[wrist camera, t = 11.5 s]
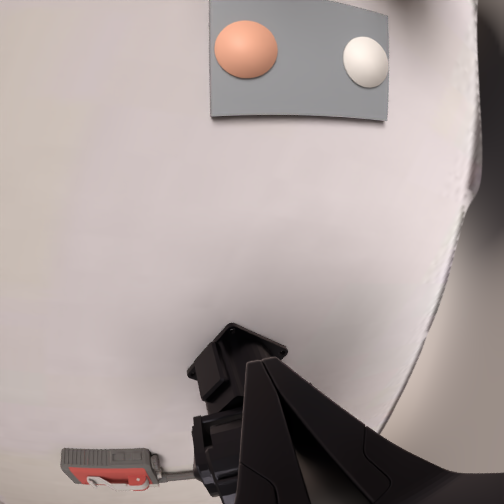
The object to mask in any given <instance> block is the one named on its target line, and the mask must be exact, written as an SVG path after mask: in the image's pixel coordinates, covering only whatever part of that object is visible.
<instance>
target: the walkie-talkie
mask: <svg viewBox="0 0 504 504" xmlns="http://www.w3.org/2000/svg"><path fill="white" fill-rule="evenodd" d="M61 469H62V471H63V472H64V473H65V474H66V475H67V476H68V477H69V478H70V479H71V480H72V481H73V482H74V483H77V484H89V485H91V486H92V487H93V488H97V486H96V485H106V486H108V487H110V488H112V489H113V490H115V491H130V490H133V491H143V490H146V489H147V488H148V487H159V483H163V482H168V481H176V480H186V479H195V477H194V474H193V472H187V473H177V474H161V473H162V469H161V467H160V465H159V460H158V457H157V455H152V456H151V454H150V452H149V450H148V449H146V448H137V449H109V450H106V449H105V450H102V449H100V450H98V449H73V448H72V449H69V448H64V449H62V453H61Z"/></svg>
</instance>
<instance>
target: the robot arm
mask: <svg viewBox="0 0 504 504" xmlns="http://www.w3.org/2000/svg"><path fill="white" fill-rule="evenodd" d="M231 329H233V330H231ZM281 351H282V352H281ZM287 353H288V350H287V348H286V346H284V345H281V344H279V343H277V342H275V341H272V340H270V339H268V338H266V337H263V336H261V335H259V334H257V333H255V332H252V331H250V330H248V329H246V328H244V327H242V326H239V325H237V324H235V323H230V324H228V325H226V326H225V328H224V329H223V330H222V331H221V332H220V333H219V335H218V336H217V337H216V338H215V339H214V340H213V341H212V342H211V343H210V344H209V345H208V346H207V347H206V348H205V349H204V351H203V352H202V353H201V354H200V355H199V356H198V357H197V359H196V360H195V361H194V363H193V364H192V365H191V366H190V368H189V369H188V370H187V375H188V377H189V378H191V379H194V380H197V381H198V385H199V390H200V395H201V399H202V401H205V402H206V406H207V410H208V415H206V416H201V415H200V416H196V417H193V421H194V426H192V437H193V444H194V464H193V474H194V477H195V478H196V479H197V480H199V481H201V482H203V484H204V486H205V487H206V488H207V490H208V492H209V494H210V495H211V496H212V497H217V496H220V498H221V501H222V503H223V504H504V473H484V474H483V473H480V474H479V473H477V474H475V473H474V474H473V473H457V472H452V471H449V470H446V469H443V468H441V467H439V466H437V465H434V464H432V463H430V462H428V461H426V460H424V459H422V458H420V457H418V456H416V455H414V454H412V453H410V452H408V451H406V450H404V449H402V448H400V447H399V446H397V445H395V444H393V443H392V442H390V441H388V440H387V439H385V438H384V437H382V436H381V435H379V434H378V433H376V432H375V431H373V430H372V429H371V428H369V427H368V426H366V427H365V424H363V423H362V422H361V421H359V420H358V419H357V418H355V417H354V416H352V415H351V414H350V413H348V412H347V411H346V410H344V409H343V408H341V407H340V406H339V405H337V404H336V403H335V402H333V401H332V400H331V399H329V398H328V397H327V396H325V395H324V394H323V393H322V392H320V391H319V390H318V389H316V388H315V387H314V386H313V385H312V384H311V383H308V382H307V381H306V380H305V379H303V378H302V377H301V376H299V375H298V374H297V373H296V372H294V371H293V370H292V369H291V368H289V367H288V366H287V365H286V364H284V363H283V362H282V361H281V360H282V359H283V358H284V357H285V356H286V355H287Z"/></svg>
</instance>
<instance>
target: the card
mask: <svg viewBox="0 0 504 504" xmlns="http://www.w3.org/2000/svg"><path fill="white" fill-rule="evenodd" d="M209 73H210V116H232V115H313V116H334V117H349V118H361V119H372V120H382V121H387V115H388V91H389V34H388V16H386V15H383V14H380V13H377V12H373V11H370V10H366V9H362V8H358V7H355V6H350V5H346V4H342V3H338V2H333V1H328V0H209Z"/></svg>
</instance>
